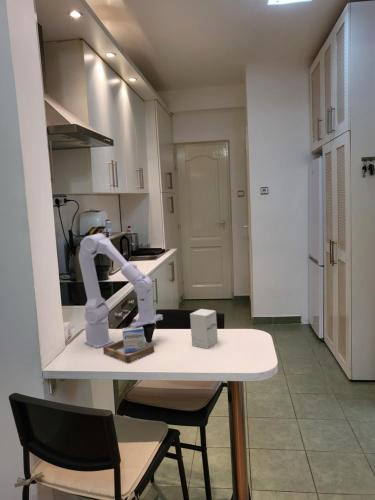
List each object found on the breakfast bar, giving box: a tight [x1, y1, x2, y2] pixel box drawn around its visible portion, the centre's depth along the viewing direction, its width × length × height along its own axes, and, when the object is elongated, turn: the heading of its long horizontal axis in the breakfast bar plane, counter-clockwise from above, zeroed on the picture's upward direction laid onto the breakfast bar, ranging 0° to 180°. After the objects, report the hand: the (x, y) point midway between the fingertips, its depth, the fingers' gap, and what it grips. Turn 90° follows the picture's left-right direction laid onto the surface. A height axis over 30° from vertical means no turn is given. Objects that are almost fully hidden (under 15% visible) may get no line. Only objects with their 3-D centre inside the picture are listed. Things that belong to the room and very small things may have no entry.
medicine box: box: [121, 326, 146, 354], centre depth 155 cm, size 8×4×9 cm, turn 101°
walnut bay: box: [102, 339, 155, 364], centre depth 153 cm, size 15×12×2 cm
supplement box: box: [189, 308, 219, 349], centre depth 155 cm, size 7×7×13 cm
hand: (148, 342), depth 160 cm, fingers closed
